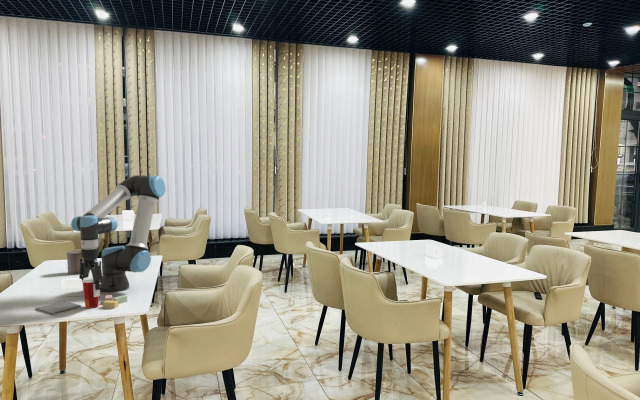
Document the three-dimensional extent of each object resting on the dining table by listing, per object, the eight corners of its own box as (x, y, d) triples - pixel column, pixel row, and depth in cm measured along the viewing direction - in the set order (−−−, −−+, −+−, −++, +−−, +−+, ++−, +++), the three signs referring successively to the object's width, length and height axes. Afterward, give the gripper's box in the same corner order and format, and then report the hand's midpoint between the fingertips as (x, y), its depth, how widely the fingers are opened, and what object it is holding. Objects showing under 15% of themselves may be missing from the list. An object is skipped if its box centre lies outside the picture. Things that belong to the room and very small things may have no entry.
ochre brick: (103, 308, 225) (103, 302, 225) (106, 306, 228) (106, 300, 228) (114, 308, 224) (114, 302, 224) (118, 307, 227) (118, 300, 227)
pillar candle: (88, 271, 300) (87, 248, 299) (79, 275, 290) (77, 251, 289) (74, 271, 301) (72, 248, 300) (64, 274, 291) (63, 250, 290)
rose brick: (105, 301, 236) (105, 295, 236) (112, 300, 238) (112, 294, 237) (105, 304, 231) (105, 298, 231) (112, 303, 232) (111, 297, 232)
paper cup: (103, 304, 231) (102, 276, 230) (96, 308, 223) (95, 279, 222) (87, 304, 230) (86, 276, 229) (79, 309, 223) (78, 280, 222)
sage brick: (123, 301, 237) (123, 295, 236) (127, 302, 235) (127, 296, 235) (112, 304, 232) (112, 298, 231) (116, 305, 230) (116, 299, 230)
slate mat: (64, 302, 234) (64, 300, 233) (81, 306, 226) (81, 305, 226) (35, 309, 222) (35, 308, 222) (51, 314, 214) (51, 313, 214)
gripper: (69, 247, 227) (71, 293, 228) (95, 251, 216) (97, 300, 218) (84, 245, 233) (86, 290, 235) (110, 249, 222) (111, 296, 224)
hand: (91, 295), depth 226 cm, fingers closed on paper cup, 8 cm apart
